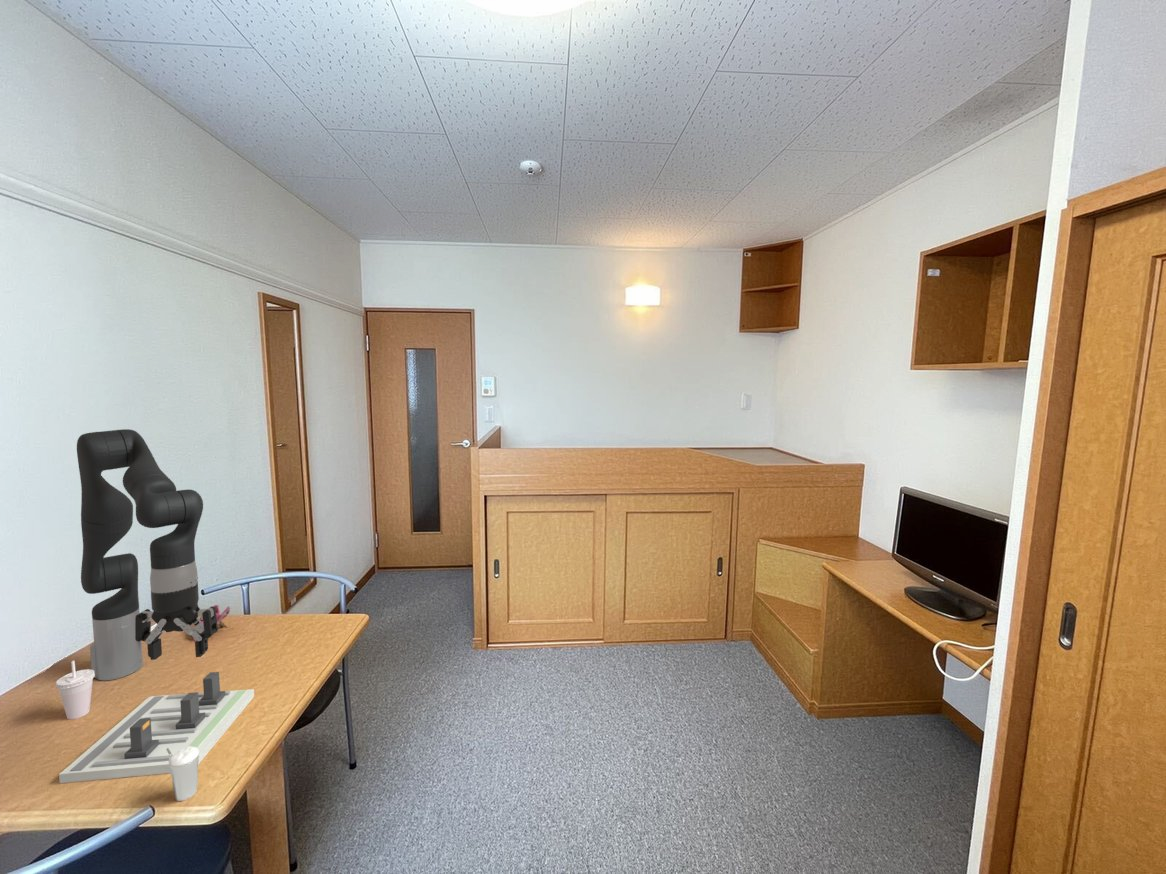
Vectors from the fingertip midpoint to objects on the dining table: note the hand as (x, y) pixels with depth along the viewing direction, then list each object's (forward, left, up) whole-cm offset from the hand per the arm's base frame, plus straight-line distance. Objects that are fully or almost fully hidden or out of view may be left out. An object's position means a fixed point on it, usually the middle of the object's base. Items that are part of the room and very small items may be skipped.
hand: (178, 656), depth 99 cm
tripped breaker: (-7, -1, -20) cm, 22 cm away
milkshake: (+7, -11, -23) cm, 26 cm away
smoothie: (-33, +17, -23) cm, 44 cm away
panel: (-7, +7, -23) cm, 25 cm away
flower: (-25, +53, -23) cm, 63 cm away
